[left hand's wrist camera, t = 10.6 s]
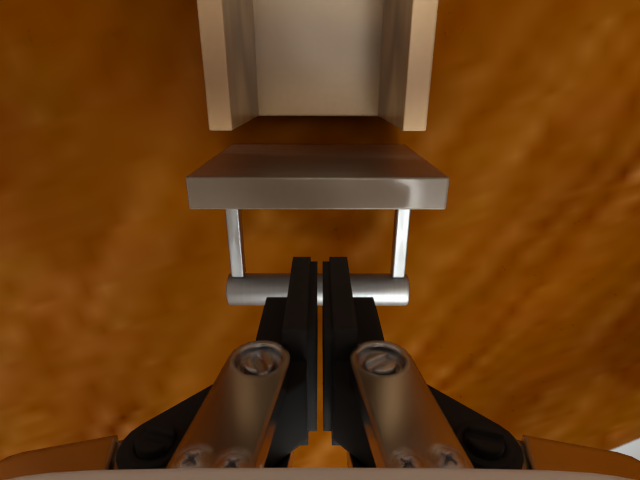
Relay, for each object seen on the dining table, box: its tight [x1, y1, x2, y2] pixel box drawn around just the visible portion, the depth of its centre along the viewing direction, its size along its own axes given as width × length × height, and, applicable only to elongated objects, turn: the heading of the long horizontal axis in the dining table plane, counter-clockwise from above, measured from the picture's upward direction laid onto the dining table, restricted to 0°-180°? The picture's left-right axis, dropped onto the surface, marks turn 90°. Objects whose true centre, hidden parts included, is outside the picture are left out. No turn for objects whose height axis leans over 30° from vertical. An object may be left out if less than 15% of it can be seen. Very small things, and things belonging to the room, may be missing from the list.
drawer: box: [186, 0, 449, 306], centre depth 16 cm, size 25×9×8 cm, turn 0°
